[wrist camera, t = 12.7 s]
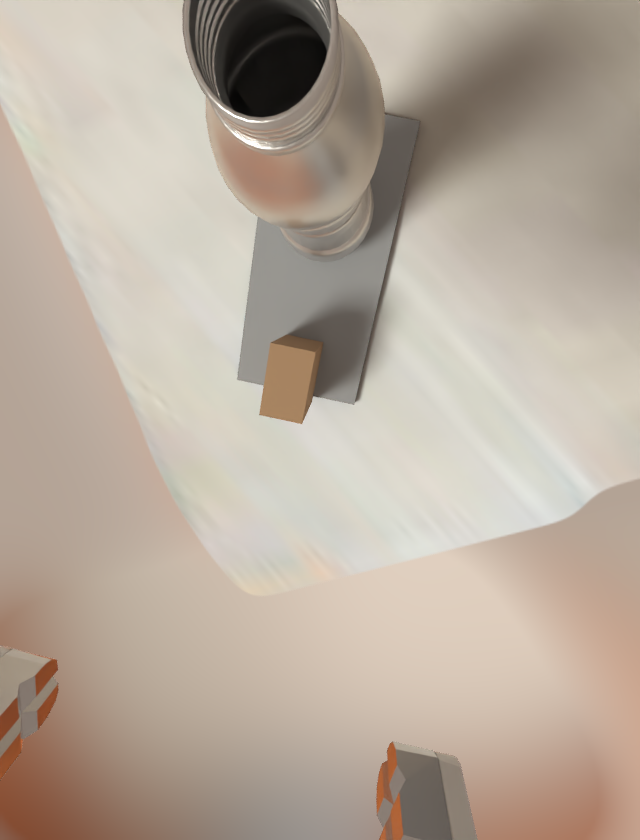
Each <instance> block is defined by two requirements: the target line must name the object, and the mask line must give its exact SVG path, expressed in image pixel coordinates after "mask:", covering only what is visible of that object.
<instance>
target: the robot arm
mask: <svg viewBox="0 0 640 840" xmlns="http://www.w3.org/2000/svg"><path fill="white" fill-rule="evenodd" d="M57 670H58V665H57V660H56V659H52V658H48V657H44V656H40V655H36V654H32V653H28V652H24V651H20V650H17V649H14V648H10V647H6V646H1V645H0V780H1V779H2V777H3V776H4V775H5V773H6V772H7V771H8V769H9V768H10V767H11V765H12V764H13V763H14V761H15V760H16V759H17V757H18V756H19V755H20V753H21V751H22V744H23V739H24V738H26V737H28V736H29V735H31V734H32V733H34V732H36V731H37V730H38V729H39V728H40V726H41V725H42V724H43V722H44V721H45V720H46V718H47V716H48V715H49V713H50V711H51V709H52V707H53V705H54V703H55V701H56V698H57V694H58V682H57V681H56V679H55V678H54V677H53V675H54V674H55V673H56V672H57ZM387 757H388V760H387V761H385V762H384V763H382V766H381V768H380V771H379V776H378V783H377V798H376V800H377V801H376V802H377V816H378V819H379V821H380V823H381V825H382V827H383V831H382V834H381V836H380V838H379V840H477V835H476V831H475V827H474V822H473V818H472V813H471V809H470V804H469V801H468V796H467V791H466V787H465V783H464V778H463V774H462V769H461V765H460V763H459V761H458V759H457V758H456V757H455V756H452V755H447V754H443V753H439V752H435V751H433V750H428V749H424V748H419V747H415V746H411V745H406V744H402V743H397V742H391V743H390V745H389V747H388V750H387Z"/></svg>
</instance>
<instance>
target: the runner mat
mask: <svg viewBox="0 0 640 840" xmlns="http://www.w3.org/2000/svg"><path fill="white" fill-rule="evenodd" d="M419 124H420V121H418V120H413V119H408V118H402V117H397V116H392V115H387V114H385V128H384V136H383V144H382V149H381V152H380V155H379V159H378V162H377V165H376V168H375V171H374V174H373V176H372V178H371V180H370V184H371V188H372V192H373V202H374V209H373V217H372V221H371V224H370V228H369V230H368V232H367V234H366V236H365V238H364V240H363V241H362V242H361V243H360V245H359V246H358V247H357V248H356V249H355V250H354V251H353V252H352V253H350V254H349V255H347V256H345V257H344V258H342V259H339V260H336V261H331V262H318V261H313V260H310V259H307V258H305V257H304V256H302V255H300V254H299V253H297V252H296V251H295V250H294V249H293V248H292V247H291V246H290V245H289V243H288V242H287V241H286V239H285V238H284V236H283V234H282V232H281V230H280V227H278V226H275V225H273V224H270V223H268V222H266V221H264V220H263V219H261V218H260V217H258V220H257V228H256V236H255V244H254V252H253V260H252V267H251V275H250V283H249V291H248V299H247V307H246V315H245V322H244V330H243V338H242V346H241V354H240V362H239V370H238V377H237V380H241V381H246V382H251V383H255V384H260V385H264V388H263V394H262V401H261V408H260V414H259V415H263V416H267V417H272V418H277V419H281V420H286V421H291V422H295V423H300V424H302V423H303V420H304V418H305V416H306V414H307V411H308V409H309V407H310V405H311V402H312V398H313V396H316V397H320V398H325V399H330V400H334V401H339V402H344V403H348V404H353V405H354V403H355V399H356V395H357V390H358V386H359V382H360V378H361V373H362V369H363V365H364V360H365V356H366V352H367V347H368V343H369V339H370V335H371V330H372V326H373V322H374V317H375V313H376V309H377V305H378V300H379V296H380V292H381V287H382V283H383V279H384V275H385V270H386V266H387V262H388V257H389V253H390V249H391V245H392V240H393V236H394V232H395V227H396V223H397V219H398V215H399V210H400V206H401V202H402V197H403V193H404V189H405V185H406V180H407V176H408V172H409V167H410V163H411V159H412V154H413V150H414V146H415V142H416V137H417V133H418V129H419Z"/></svg>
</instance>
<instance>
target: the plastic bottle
mask: <svg viewBox="0 0 640 840" xmlns="http://www.w3.org/2000/svg"><path fill="white" fill-rule="evenodd" d="M183 35H184V41H185V48H186V52H187V55H188V58H189V62H190V65H191V68H192V70H193V73H194V75H195V77H196V79H197V81H198V83H199V85H200V87H201V90H202V91H203V92H204V94H205V95H206V121H207V127H208V134H209V139H210V143H211V148H212V151H213V154H214V157H215V160H216V164H217V167H218V169H219V171H220V173H221V175H222V177H223V179H224V181H225V183H226V185H227V186H228V188H229V189H230V190H231V192H232V193H233V194H234V196H235V197H236V198H237V200H238V201H239V202H240V203H242V204H243V205H244V206H245V207H246V208H247V209H248V210H249V211H250V212H251V213H253V214H255V215H256V216H258V217H260V218H261V219H263V220H264V221H266V222H268V223H270V224H273V225H275V226H278V227H280V230H281V232H282V234H283V236H284V238H285V239H286V241H287V242H288V243H289V245H290V246H291V247H292V248H293V249H294V250H295V251H296V252H297V253H299V254H300V255H302V256H304V257H305V258H307V259H310V260H313V261H318V262H331V261H336V260H339V259H342V258H344V257H345V256H347V255H349V254H350V253H352V252H353V251H354V250H355V249H356V248H357V247H358V246H359V245H360V243H361V242H362V241H363V240H364V238H365V236H366V234H367V232H368V230H369V228H370V224H371V221H372V217H373V209H374V202H373V192H372V188H371V184H370V180H371V178H372V176H373V174H374V171H375V168H376V165H377V162H378V159H379V155H380V152H381V149H382V144H383V136H384V128H385V108H384V98H383V93H382V88H381V83H380V79H379V76H378V74H377V71H376V69H375V66H374V63H373V61H372V59H371V57H370V55H369V53H368V51H367V49H366V47H365V45H364V44H363V42H362V41H361V39H360V37H359V36H358V34H357V32H356V31H355V30H354V28H353V27H352V26H351V25H350V24H349V23H348V22H347V21H346V20H345V19H344V18H343V17H342V16H341V15H340V14H339V13H338V8H337V3H336V0H184V3H183Z"/></svg>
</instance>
